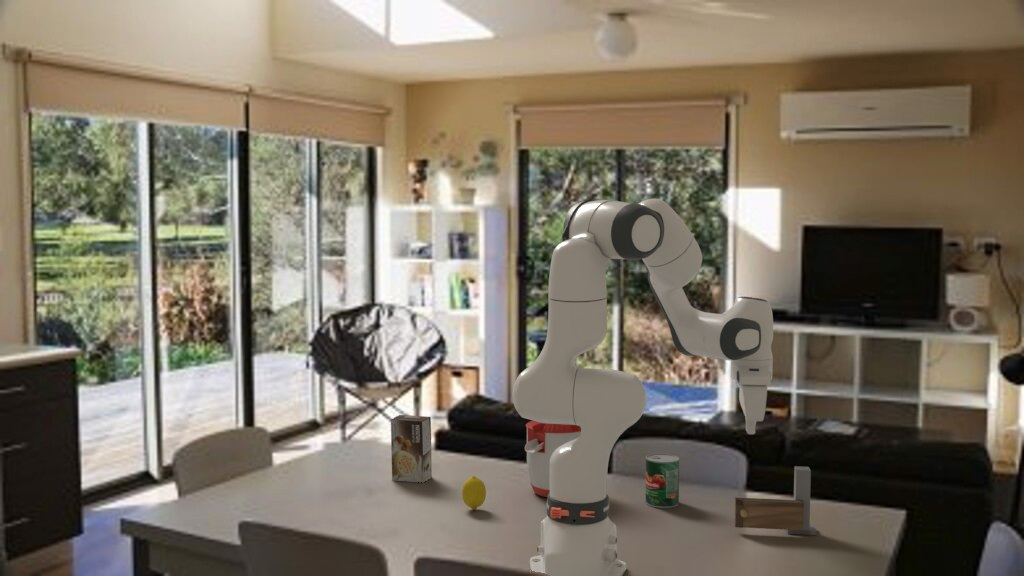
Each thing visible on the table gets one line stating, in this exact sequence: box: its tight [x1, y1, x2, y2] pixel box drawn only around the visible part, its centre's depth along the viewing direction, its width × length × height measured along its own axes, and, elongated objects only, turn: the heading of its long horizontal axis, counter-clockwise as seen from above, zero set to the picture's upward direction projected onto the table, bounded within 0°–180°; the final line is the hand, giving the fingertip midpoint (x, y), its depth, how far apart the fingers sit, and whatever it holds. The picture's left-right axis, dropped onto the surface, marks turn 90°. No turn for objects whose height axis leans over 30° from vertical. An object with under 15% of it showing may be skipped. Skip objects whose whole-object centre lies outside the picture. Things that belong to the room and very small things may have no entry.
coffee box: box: [390, 414, 433, 484], centre depth 249 cm, size 9×6×16 cm
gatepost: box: [785, 465, 818, 536], centre depth 208 cm, size 4×6×14 cm, turn 81°
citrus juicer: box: [524, 420, 581, 498], centre depth 236 cm, size 16×17×20 cm
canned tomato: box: [645, 453, 680, 509], centre depth 228 cm, size 8×8×11 cm
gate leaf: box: [734, 496, 804, 531], centre depth 205 cm, size 3×14×6 cm, turn 81°
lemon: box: [461, 475, 487, 511], centre depth 223 cm, size 6×6×8 cm
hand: (750, 432), depth 212 cm, fingers closed
